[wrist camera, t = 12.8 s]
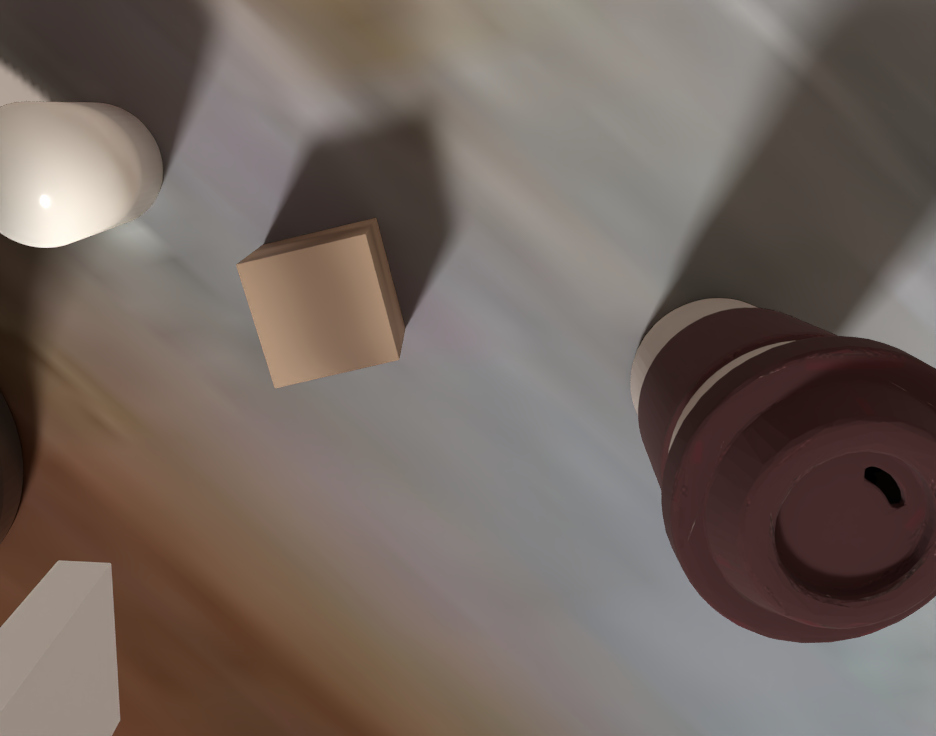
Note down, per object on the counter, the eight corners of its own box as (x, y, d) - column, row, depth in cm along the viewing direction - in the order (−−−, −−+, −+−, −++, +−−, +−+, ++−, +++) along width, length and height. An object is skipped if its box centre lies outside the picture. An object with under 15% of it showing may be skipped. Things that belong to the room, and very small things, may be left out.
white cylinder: (41, 218, 36) (-35, 239, 31) (39, 95, 35) (-41, 92, 29) (161, 232, 37) (108, 255, 31) (164, 110, 35) (109, 111, 30)
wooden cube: (296, 353, 38) (274, 388, 34) (263, 244, 37) (236, 264, 32) (405, 328, 38) (399, 359, 33) (376, 217, 37) (365, 234, 32)
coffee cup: (617, 493, 41) (709, 704, 26) (581, 292, 38) (661, 405, 23) (826, 451, 40) (1035, 641, 26) (806, 243, 37) (1027, 329, 23)
